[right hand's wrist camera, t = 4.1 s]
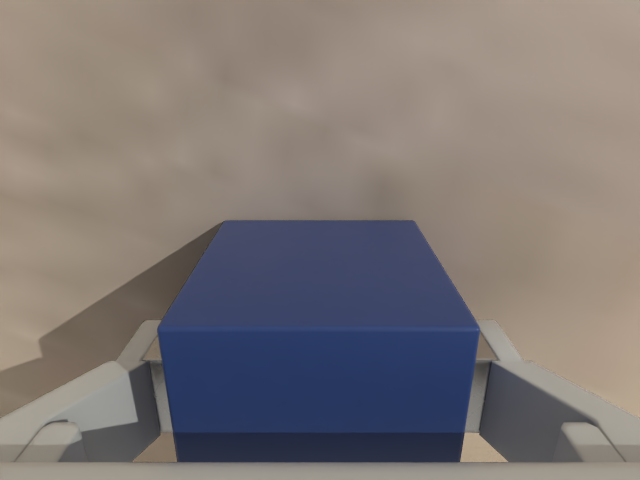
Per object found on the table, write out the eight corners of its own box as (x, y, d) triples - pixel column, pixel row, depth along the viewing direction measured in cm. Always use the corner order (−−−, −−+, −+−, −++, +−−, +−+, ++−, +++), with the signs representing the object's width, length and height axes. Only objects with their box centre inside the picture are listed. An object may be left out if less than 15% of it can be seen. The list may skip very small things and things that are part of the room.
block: (401, 380, 13) (447, 555, 8) (236, 380, 13) (189, 555, 8) (415, 219, 11) (482, 327, 7) (223, 219, 11) (154, 327, 7)
